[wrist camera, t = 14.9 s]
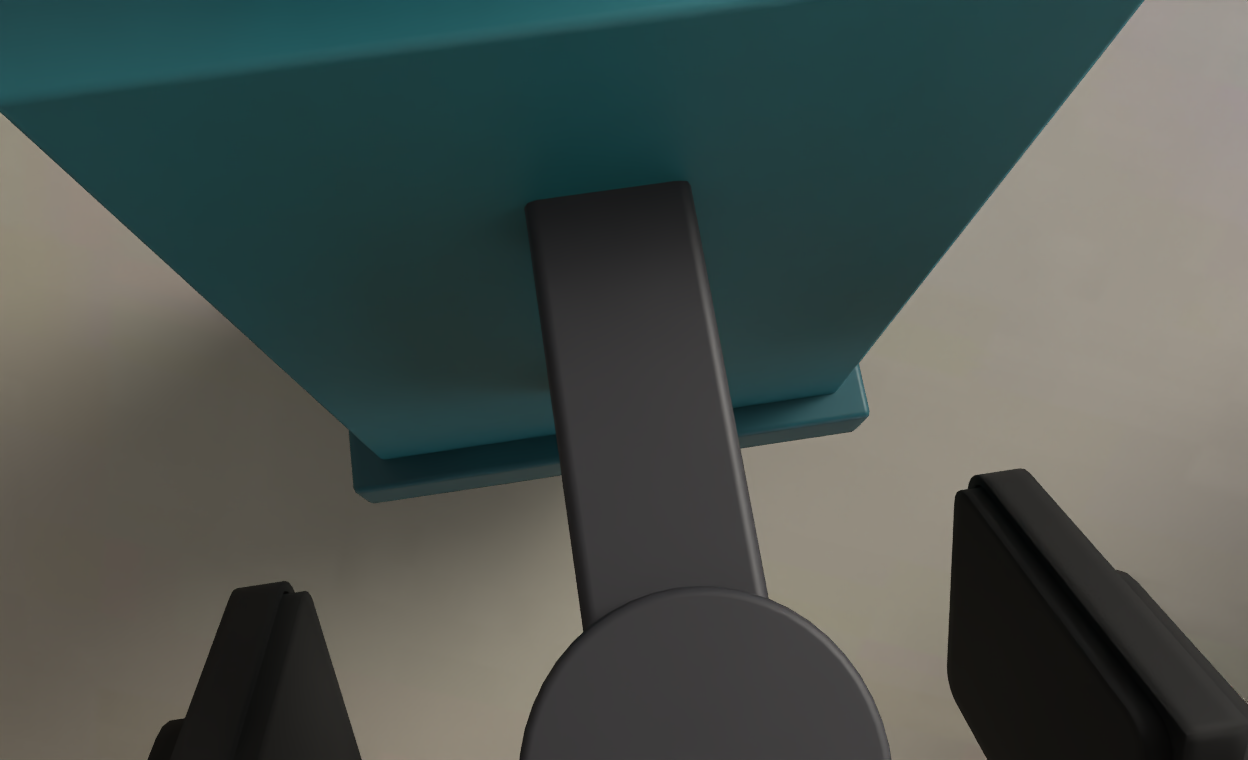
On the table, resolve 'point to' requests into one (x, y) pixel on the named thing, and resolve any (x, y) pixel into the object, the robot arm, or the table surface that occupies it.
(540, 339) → the iron
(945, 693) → the table surface
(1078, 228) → the table surface
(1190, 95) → the table surface
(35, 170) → the table surface
